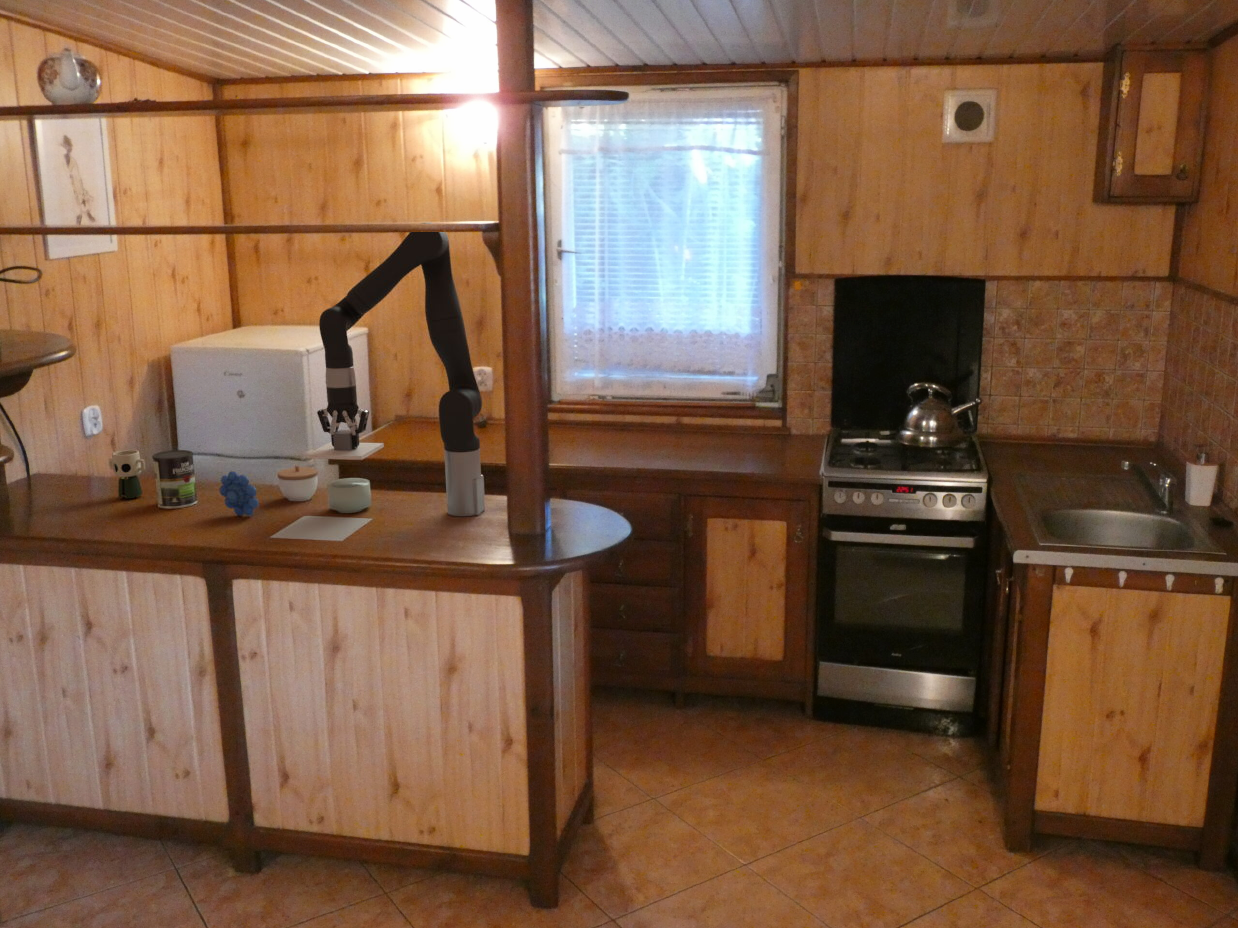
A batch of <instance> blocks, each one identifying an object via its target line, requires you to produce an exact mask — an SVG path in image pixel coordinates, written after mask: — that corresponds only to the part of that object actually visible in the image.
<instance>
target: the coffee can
mask: <svg viewBox="0 0 1238 928" xmlns="http://www.w3.org/2000/svg"><path fill="white" fill-rule="evenodd" d="M151 457H152V460H153V461H152V462H153V469H154V477H155V485H156V486H155V488H156V495H157V497H156V498H157V506H158V508H161V509H166V510H168V509H169V510H174V509H183V508H189V507H191V506H195V505H197V504H198V502H199V501H198V495H197V488H196V487H197V485H196V475H195V466H194V452H193V451H191V450H186V449H177V450H166V451H161V452H156V453H154V454H153V455H152V456H151ZM194 504H195V505H194Z"/></svg>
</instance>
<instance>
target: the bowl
mask: <svg viewBox="0 0 1238 928" xmlns="http://www.w3.org/2000/svg"><path fill="white" fill-rule="evenodd" d="M326 486H327V497H328V498H327V501H328V508H329V509H331V510H333V511H336V512H337V513H341V514H354V513H358V512H363V510H365V509H366V508H368V507H370V506H371V505H372V498H371V497H372V495H371V482H370V480H369V479H367V478H362V477H361V478H360V477H348V478H346V477H345V478H339V479H334V480H332V481H330V482H328V483H327V485H326Z"/></svg>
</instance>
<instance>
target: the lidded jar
mask: <svg viewBox="0 0 1238 928" xmlns="http://www.w3.org/2000/svg"><path fill="white" fill-rule="evenodd" d="M318 472H319V471H318V469H317V468H314V467H307V466H303V467H302V466H299V465H295V466H294V467H288V468H286V469H281V470H280V471H278V472H277V479H278V486H279V489H280V491H281V493H282V495H283V496H284V497H285V498H286V499H288V502H289V501H290V502H304V501H305V502H306V501H309V500H311V499H312V497H313V495H314V494H315V493H316V491H317V489H318V484H319V483H318V482H319V479H318V474H319V473H318Z"/></svg>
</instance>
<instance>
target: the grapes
mask: <svg viewBox="0 0 1238 928" xmlns="http://www.w3.org/2000/svg"><path fill="white" fill-rule="evenodd" d="M220 482H221V486H220V487H219V493H220V495H221V496H222V497H224V498H225V499H224V505H225V506H226V508H228V509H233V512H234V514H236V516H240V517H241V516H243V515H245V516H247V517H250V516H253V515H254V511H255V509H256V508H258V507H259V500H258V498H256V495H257V492H258V491H257V489H256V487H255V486H254V485H252V484H249V483H250V479H249V477H248V476H246V475H244V474H241V475H239V474H238V472H236V471H233V470H232V471H229V473H228V474H227V475H226V474H225V475H222V476H221V478H220Z"/></svg>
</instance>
